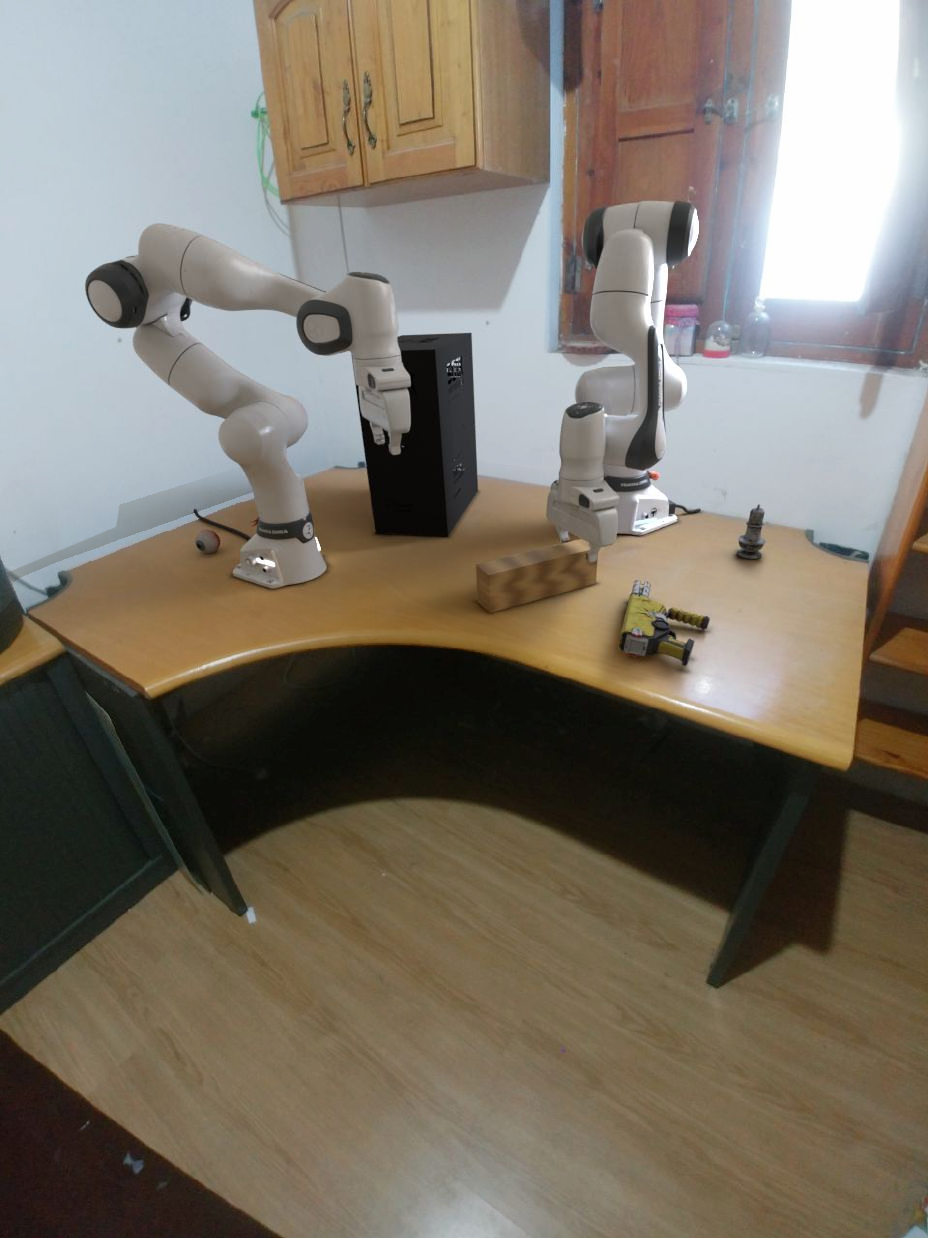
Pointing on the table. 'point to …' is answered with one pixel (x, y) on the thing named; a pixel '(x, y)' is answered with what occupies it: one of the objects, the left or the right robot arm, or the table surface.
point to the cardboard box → (427, 442)
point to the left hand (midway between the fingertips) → (387, 448)
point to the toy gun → (655, 627)
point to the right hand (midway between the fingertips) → (577, 553)
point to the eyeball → (207, 541)
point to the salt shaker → (752, 535)
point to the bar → (534, 575)
